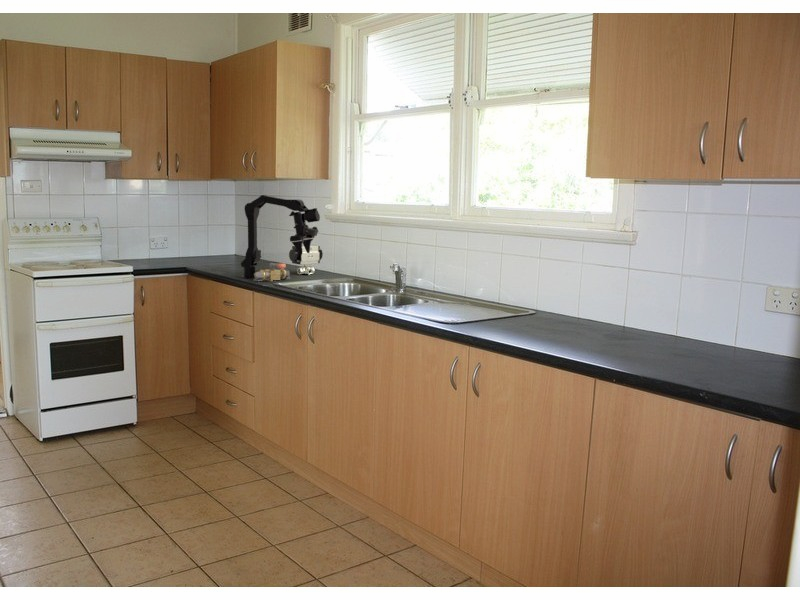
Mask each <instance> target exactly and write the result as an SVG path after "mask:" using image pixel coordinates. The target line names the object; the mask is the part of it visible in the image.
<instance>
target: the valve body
mask: <svg viewBox="0 0 800 600" xmlns="http://www.w3.org/2000/svg"><path fill="white" fill-rule="evenodd" d="M290 274H291V273H290V270H289V269H286V268H283V269H280V268H278V269H277V268H275V270H270V269H260V270H258V271H257V272H256V271H255V273H254V278H253V282H254V281H262V282H263V281H265V280H270V281H269V282H274V281H273V280H280V281H281V280H285V279H289V280H291V276H290Z"/></svg>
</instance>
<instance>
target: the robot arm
mask: <svg viewBox="0 0 800 600" xmlns="http://www.w3.org/2000/svg"><path fill="white" fill-rule="evenodd" d="M266 204H270V205H274V206H279V207H284V208H287V209H289V210H292V211H291V212H290V214H289V215H288V216H289V217H293V222H294V226H293V229H294V230H295V234H294V235H291V236H290V237H289V241H290V242H291V244H292V246H295V247H296V249H297V250H298V252H299V253H300V255H301V254H302V246H304V247H305V249H306V251H307V253H309V251H310V245H311V244H312V242H313V240H314V238H315V237H317V236H318V233H319V229H318V227H317V226H313V227H309V225H308V224H307V223H313V222H314V223H315V222H320V219H321V217H320V213H319V211H318V208H311V209H309V208H308V207H307V206H306V205H305V202H304V201H303V200H302V199H287V198H281V197H276V196H271V195H267V194H261V195H259V196H258V198H255V199H254V200H253V201H251V202H248V203H246V204H245V205H244V212H245V213H244V214H245V217H246V220H247V243H248V244H247V249H246V252H245V257H244V259H243V260H242V261H241V262H240V265H241V267H242V269H243V270H242V271H243V275H242V276H240V277H241V278H242V279H247V280H248V279H249V278H250V279H255V278H254V273H255V272H256V266H257V265H258V264H259V262H260V261H261V258H262V254H261V253H262V250H261V249H259V248H258V226H257V225H258V223H257V222H258V217H259V216H260V211H261V210H260V209H261V208H263V207H264V206H265V205H266Z"/></svg>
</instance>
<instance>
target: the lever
mask: <svg viewBox="0 0 800 600" xmlns="http://www.w3.org/2000/svg"><path fill="white" fill-rule="evenodd" d="M268 264H269V265H268V266H269V269H270V270H275V269H283V268H284V269H286V268H287V266H286V265H287V264H286V263H283V262H277V263H275V262H270V263H268ZM275 267H276V268H275Z"/></svg>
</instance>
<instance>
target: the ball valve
mask: <svg viewBox="0 0 800 600" xmlns="http://www.w3.org/2000/svg"><path fill="white" fill-rule="evenodd" d="M323 254H324V253H323V249H321V246H320V245H314V244H312V245H311V244H310V251H309V253H307V251H306V249H305V247H304V245H302V254H301V255H300V253H299V252H298V250H297V249H296V247H295V246H294V245H292V246H291V249H290V250H289V252H288V258H289V260H290V261H291V264H294V265H295V264H296V265H300V267H297V270H296V272H297V274H298V275H300V274H308V275H307V276H311V275H310V274H312V275H313V274H314V273H315V267H313V266H312V264H313V265H314V264H321V262H320V261H321V260H322V258H323Z"/></svg>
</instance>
